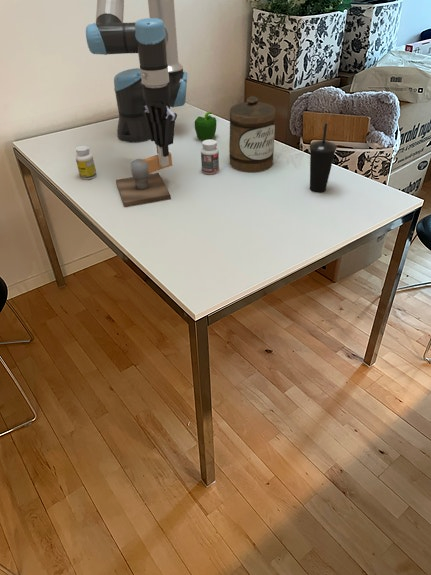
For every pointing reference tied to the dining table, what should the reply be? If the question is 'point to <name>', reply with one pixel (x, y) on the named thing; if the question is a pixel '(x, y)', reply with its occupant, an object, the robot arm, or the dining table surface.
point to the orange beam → (147, 166)
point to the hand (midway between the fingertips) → (164, 165)
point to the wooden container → (252, 135)
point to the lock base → (142, 190)
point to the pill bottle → (210, 157)
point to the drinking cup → (321, 163)
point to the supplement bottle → (85, 163)
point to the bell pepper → (205, 127)
